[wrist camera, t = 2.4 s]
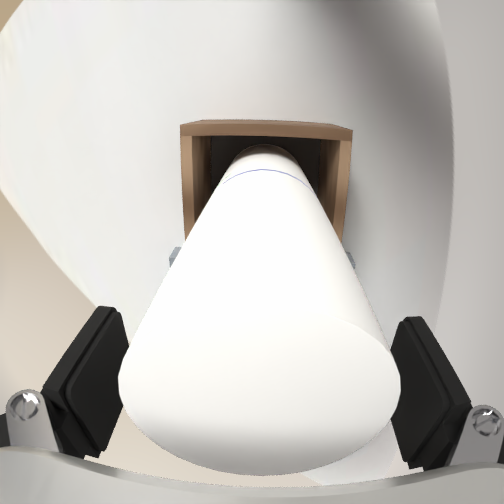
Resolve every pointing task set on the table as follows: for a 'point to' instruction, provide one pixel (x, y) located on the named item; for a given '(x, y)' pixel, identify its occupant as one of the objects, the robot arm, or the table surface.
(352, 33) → the table surface
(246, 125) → the walnut box
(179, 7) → the table surface
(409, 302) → the table surface
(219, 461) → the cylindrical container
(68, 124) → the table surface
